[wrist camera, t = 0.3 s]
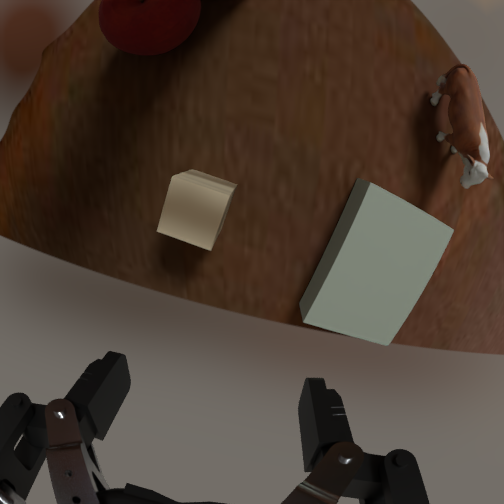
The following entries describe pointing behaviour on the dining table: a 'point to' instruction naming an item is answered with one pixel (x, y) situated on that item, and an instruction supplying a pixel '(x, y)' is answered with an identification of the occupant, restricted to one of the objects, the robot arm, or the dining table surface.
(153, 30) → the apple
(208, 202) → the maple block
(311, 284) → the plinth
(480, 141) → the bull figurine
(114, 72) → the dining table surface
